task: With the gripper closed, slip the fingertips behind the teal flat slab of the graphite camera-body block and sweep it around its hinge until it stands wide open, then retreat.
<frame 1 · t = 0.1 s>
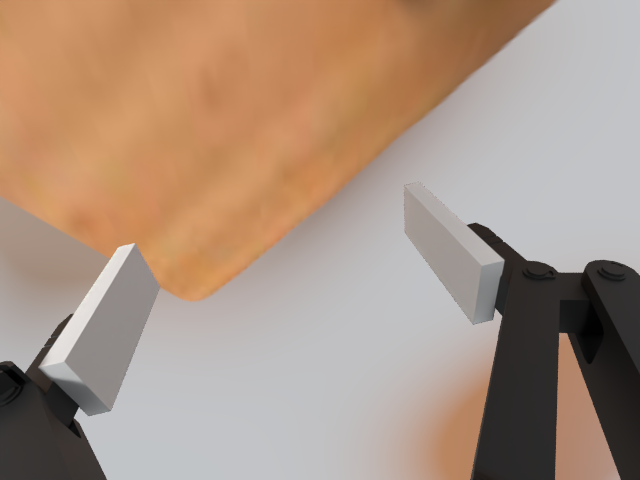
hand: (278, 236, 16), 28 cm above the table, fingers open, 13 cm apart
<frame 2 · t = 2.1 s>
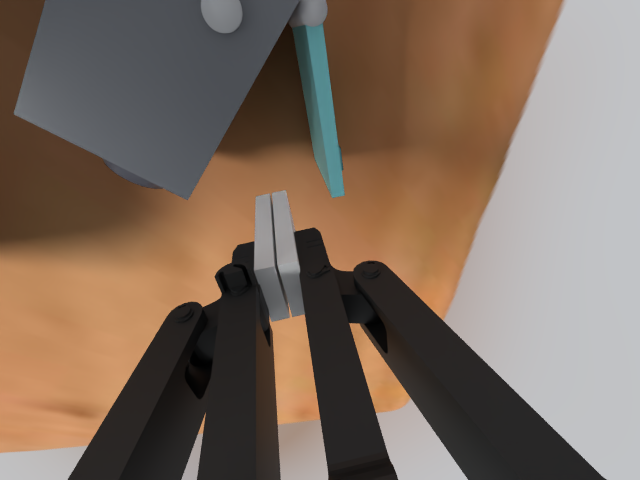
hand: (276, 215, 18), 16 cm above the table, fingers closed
teal flat slab: (319, 99, 26), point 5 cm above the table, hinge at 45.0°
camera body: (190, 49, 27), on the table
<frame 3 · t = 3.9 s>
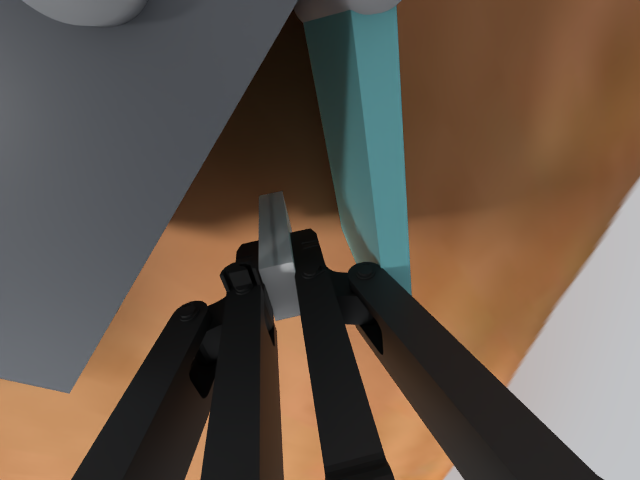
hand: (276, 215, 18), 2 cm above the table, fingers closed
teal flat slab: (360, 156, 13), point 5 cm above the table, hinge at 48.3°, touching gripper, hand
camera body: (115, 57, 15), on the table
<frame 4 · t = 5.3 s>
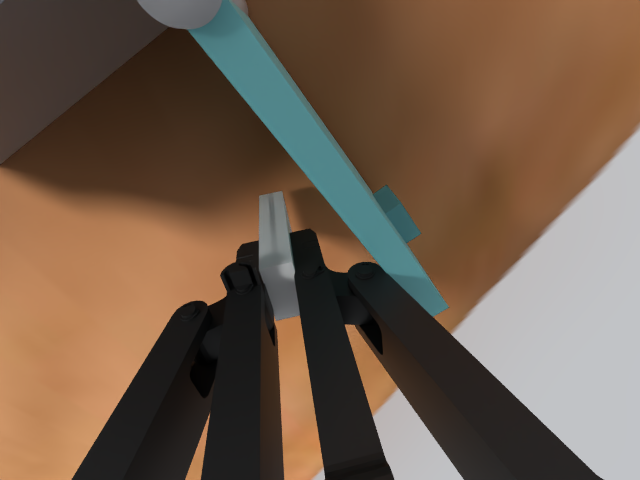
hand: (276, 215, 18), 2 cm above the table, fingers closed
teal flat slab: (325, 140, 13), point 5 cm above the table, hinge at 94.8°, touching hand
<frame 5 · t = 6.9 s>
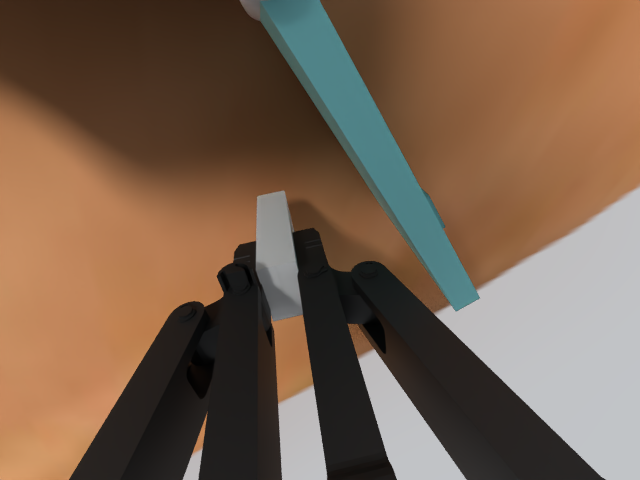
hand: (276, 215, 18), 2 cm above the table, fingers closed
teal flat slab: (358, 130, 13), point 5 cm above the table, hinge at 121.0°
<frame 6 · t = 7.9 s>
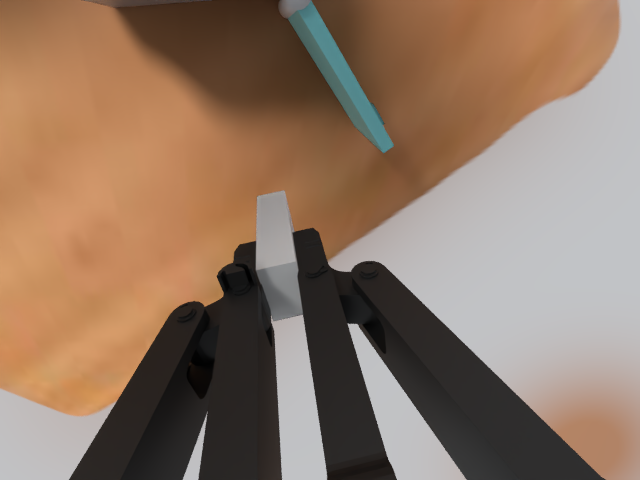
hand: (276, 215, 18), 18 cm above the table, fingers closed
teal flat slab: (336, 69, 26), point 5 cm above the table, hinge at 121.0°
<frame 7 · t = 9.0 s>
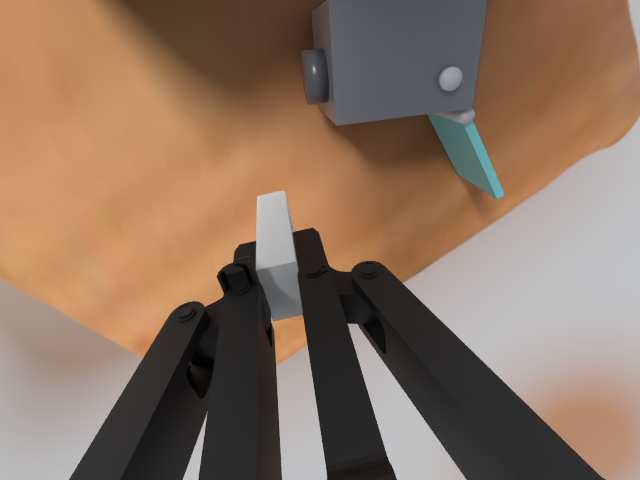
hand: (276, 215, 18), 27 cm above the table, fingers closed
teal flat slab: (464, 145, 41), point 5 cm above the table, hinge at 121.0°
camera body: (372, 57, 39), on the table
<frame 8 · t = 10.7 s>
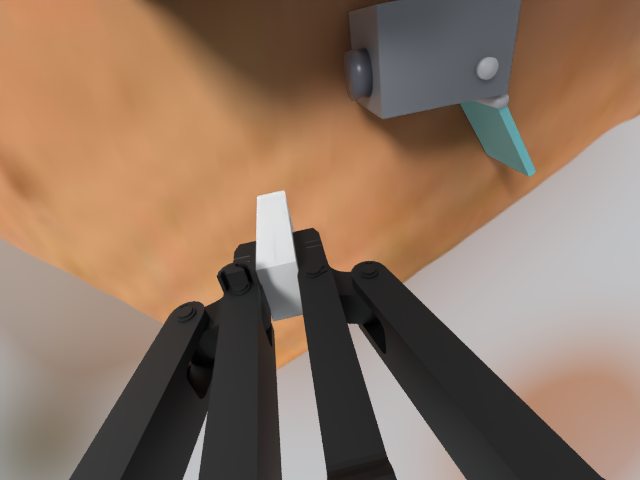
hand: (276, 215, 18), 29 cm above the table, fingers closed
teal flat slab: (495, 127, 43), point 5 cm above the table, hinge at 121.0°
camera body: (406, 49, 41), on the table
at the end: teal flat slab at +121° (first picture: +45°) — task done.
